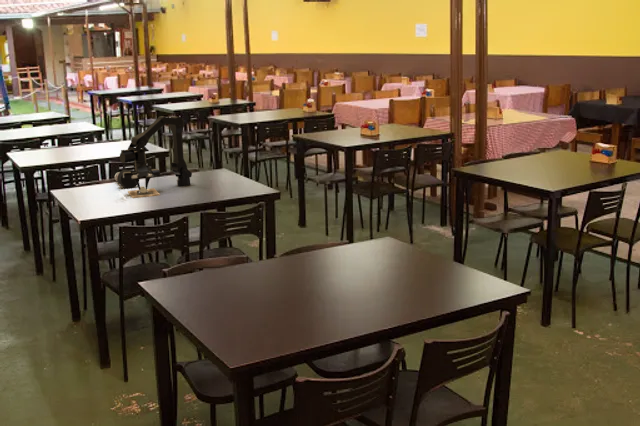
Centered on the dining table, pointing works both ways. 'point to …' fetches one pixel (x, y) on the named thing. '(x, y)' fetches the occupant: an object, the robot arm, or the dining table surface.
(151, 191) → the board
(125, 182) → the black cylinder
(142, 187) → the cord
